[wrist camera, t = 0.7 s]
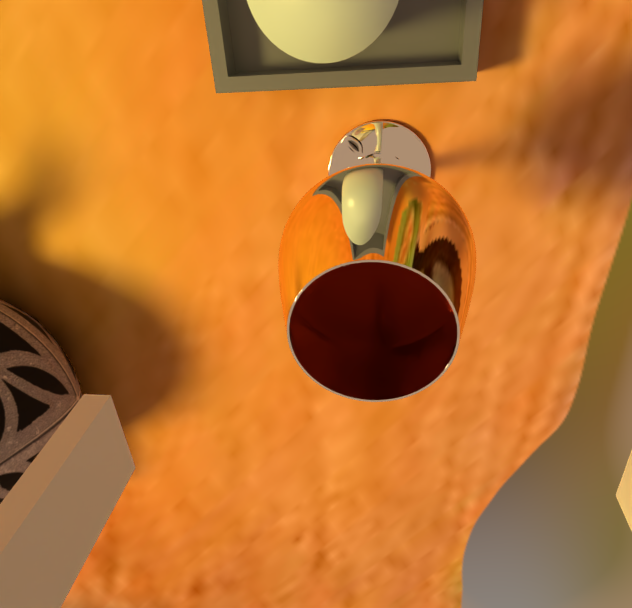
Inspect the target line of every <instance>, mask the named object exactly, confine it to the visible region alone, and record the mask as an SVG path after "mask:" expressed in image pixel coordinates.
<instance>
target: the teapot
mask: <svg viewBox="0 0 632 608" xmlns="http://www.w3.org/2000/svg"><path fill="white" fill-rule="evenodd" d="M81 397H82V394H81V389H80V385H79V382H78V379H77V377H76V374H75V372H74V370H73V368H72V366H71V364H70V362H69V360H68V358H67V357H66V355H65V354H64V352H63V350H62V349H61V347H60V346H59V344H58V343H57V341H56V340H55V339H54V338H53V337H52V336H51V334H50V333H49V332H48V331H47V330H46V329H45V328H44V327H43V326H42V325H41V324H40V323H38V322H37V321H36V320H35V319H33V318H32V317H31V316H29V315H28V314H27V313H25V312H23V311H22V310H20V309H19V308H17V307H15V306H13V305H11V304H9V303H7V302H5V301H3V300H0V504H1V502H2V501H3V500H4V498H5V497H6V496H7V494H8V493H9V492H10V490H11V489H12V488H13V486H14V485H15V484H16V483H17V481H18V480H19V479H20V477H21V476H22V475H23V473H24V472H25V471H26V469H27V468H28V467H29V466H30V464H31V463H32V462H33V460H34V459H35V458H36V456H37V455H38V454H39V452H40V451H41V450H42V448H43V447H44V446H45V445H46V443H47V442H48V441H49V439H50V438H51V437H52V435H53V434H54V433H55V431H56V430H57V429H58V427H59V426H60V425H61V424H62V422H63V421H64V420H65V418H66V417H67V416H68V414H69V413H70V412H71V410H72V409H73V408H74V406H75V405H76V404H77V403H78V401H79V400H80V399H81Z"/></svg>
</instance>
